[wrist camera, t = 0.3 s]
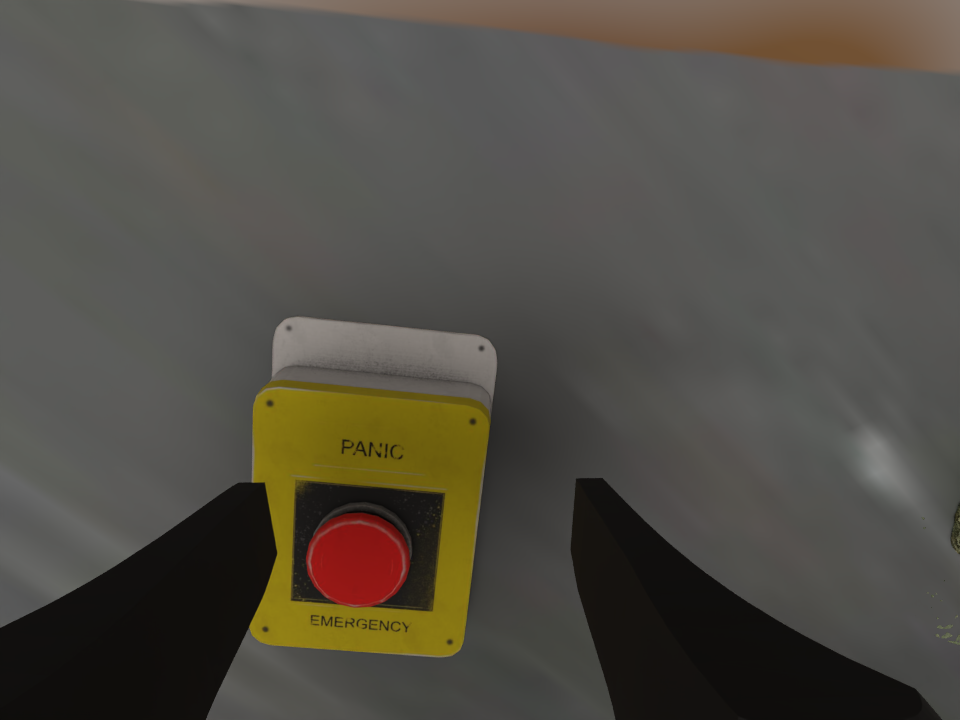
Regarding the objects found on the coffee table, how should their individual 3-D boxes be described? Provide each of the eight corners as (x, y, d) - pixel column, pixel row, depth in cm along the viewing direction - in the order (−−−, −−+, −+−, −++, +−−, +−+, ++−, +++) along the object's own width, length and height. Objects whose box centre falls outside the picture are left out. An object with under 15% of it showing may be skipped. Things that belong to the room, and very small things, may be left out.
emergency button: (229, 700, 21) (233, 328, 18) (270, 621, 25) (278, 311, 22) (463, 715, 21) (507, 356, 18) (463, 636, 26) (499, 334, 22)
